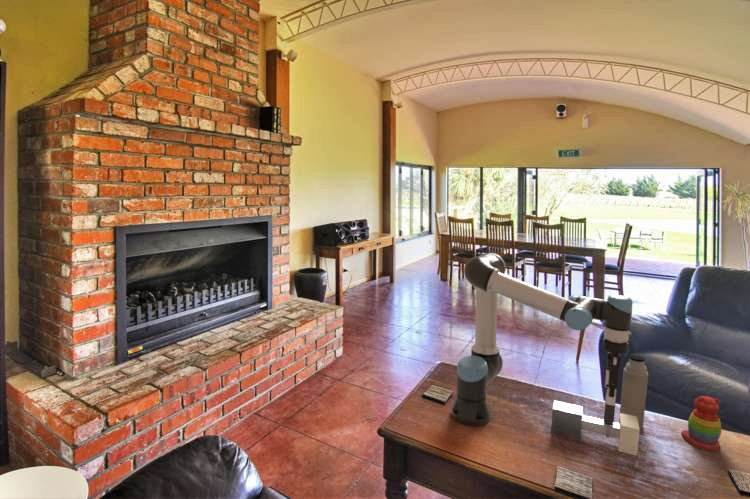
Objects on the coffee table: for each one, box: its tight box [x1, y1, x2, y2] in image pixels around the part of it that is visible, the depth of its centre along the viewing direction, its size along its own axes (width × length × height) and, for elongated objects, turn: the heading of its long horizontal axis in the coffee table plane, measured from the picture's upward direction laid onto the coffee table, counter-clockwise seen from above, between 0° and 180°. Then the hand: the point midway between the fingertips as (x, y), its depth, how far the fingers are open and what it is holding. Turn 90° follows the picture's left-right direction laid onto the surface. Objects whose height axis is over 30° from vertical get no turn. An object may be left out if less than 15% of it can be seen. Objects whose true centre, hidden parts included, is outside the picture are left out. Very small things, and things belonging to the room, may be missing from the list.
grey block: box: [550, 399, 584, 441], centre depth 156 cm, size 10×7×10 cm
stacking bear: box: [680, 395, 722, 452], centre depth 149 cm, size 11×10×18 cm
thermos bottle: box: [619, 354, 649, 432], centre depth 159 cm, size 8×8×28 cm
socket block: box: [616, 412, 641, 456], centre depth 147 cm, size 6×9×10 cm, turn 152°
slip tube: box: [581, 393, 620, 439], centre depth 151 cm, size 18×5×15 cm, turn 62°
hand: (609, 395), depth 148 cm, fingers open, 13 cm apart
